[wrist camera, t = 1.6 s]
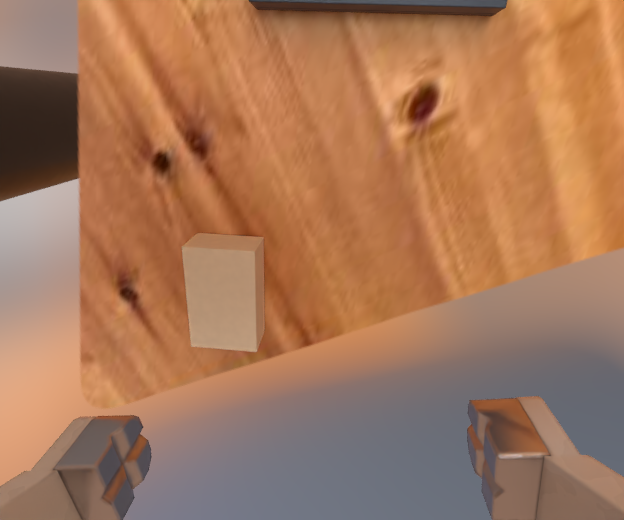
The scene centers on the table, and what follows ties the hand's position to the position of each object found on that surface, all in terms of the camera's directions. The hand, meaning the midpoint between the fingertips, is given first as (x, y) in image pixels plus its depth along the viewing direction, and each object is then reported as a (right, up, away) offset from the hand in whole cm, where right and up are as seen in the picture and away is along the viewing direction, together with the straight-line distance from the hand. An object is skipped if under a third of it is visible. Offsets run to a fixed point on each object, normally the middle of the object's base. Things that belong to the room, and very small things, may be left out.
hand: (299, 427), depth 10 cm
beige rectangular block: (-6, +2, +21) cm, 22 cm away
